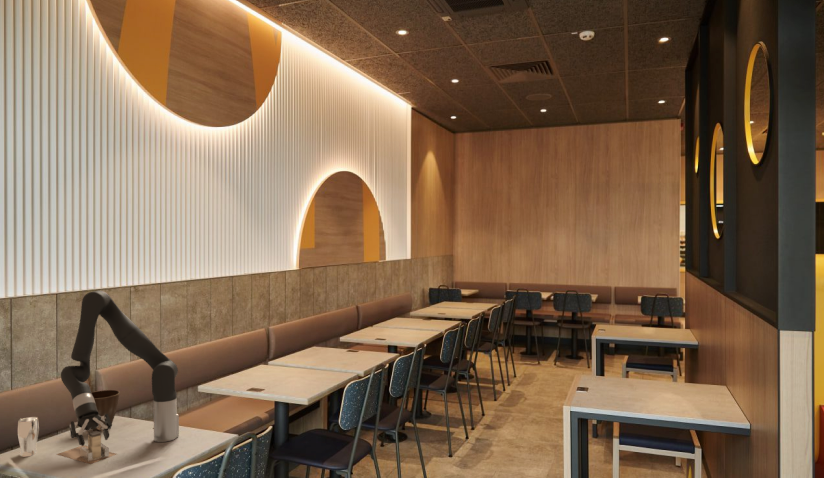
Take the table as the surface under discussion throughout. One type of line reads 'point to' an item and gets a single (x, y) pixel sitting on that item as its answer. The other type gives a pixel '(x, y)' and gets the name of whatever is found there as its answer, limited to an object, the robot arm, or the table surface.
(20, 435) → the beer glass
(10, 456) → the table surface
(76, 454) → the board
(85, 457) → the clip
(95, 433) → the grey-topped wooden block
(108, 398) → the plant pot
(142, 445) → the table surface
